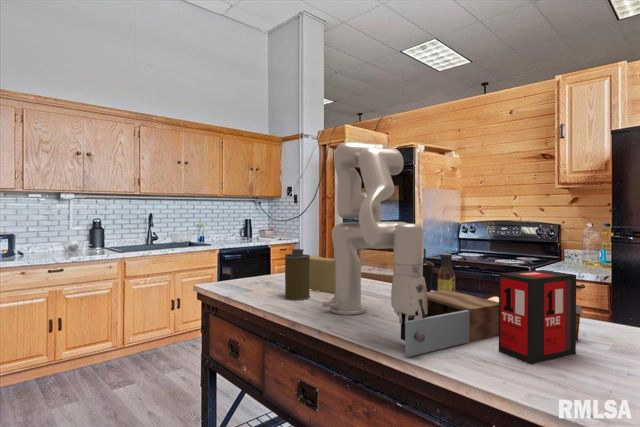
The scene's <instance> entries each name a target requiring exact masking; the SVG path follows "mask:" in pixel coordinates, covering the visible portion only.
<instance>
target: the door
mask: <svg viewBox="0 0 640 427" xmlns="http://www.w3.org/2000/svg"><path fill="white" fill-rule="evenodd" d="M469 326H470V311H468V310H464V311H459V312H453V313H448V314H442V315H437V316H431V317H426V318H422V319H415V320H409V321H405V341H404V356H405V357H408V358H409V357H412V356H417V355H422V354H425V353H430V352H434V351H437V350H441V349H446V348H450V347H454V346H457V345H461V344H466V343H470V342H469Z"/></svg>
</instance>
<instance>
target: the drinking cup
mask: <svg viewBox="0 0 640 427" xmlns="http://www.w3.org/2000/svg"><path fill="white" fill-rule="evenodd" d="M426 250H427V249H426V248H423V277H424V279H425V283H426V290H427V292H432V283H433V274H434V272H433V271H434V266H435V263H433V262H431V261H429V260H426V259H427V258H426V257H427V256H426V254H427V253H426V252H427V251H426Z"/></svg>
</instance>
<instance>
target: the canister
mask: <svg viewBox="0 0 640 427" xmlns="http://www.w3.org/2000/svg"><path fill="white" fill-rule="evenodd" d="M304 251H305V250H304V249H303V248H293V249H292V253H285V254H284V281H285V283H284V288H285V290H284V292H285V293H284V295H285V296H284V299H286V300H290V301H304V299H305V300H309V299H310V297H311V296H310V290H309V281H310V256H311V255H310V254H304ZM308 298H309V299H308Z"/></svg>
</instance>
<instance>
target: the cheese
mask: <svg viewBox="0 0 640 427" xmlns="http://www.w3.org/2000/svg"><path fill="white" fill-rule="evenodd" d="M334 271H335V267H334V258H327V257H326V258H325V257H321V256H318V255H310V281H309V289H312V290H311V291H315V290H319V291H318V292H322V291H325V292H324V293H328V292H331V293H330V294H334Z"/></svg>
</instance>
